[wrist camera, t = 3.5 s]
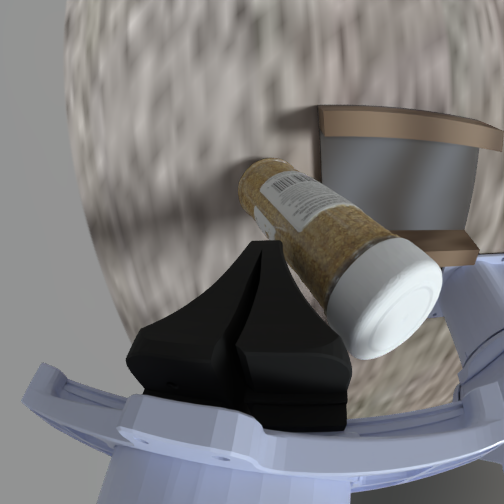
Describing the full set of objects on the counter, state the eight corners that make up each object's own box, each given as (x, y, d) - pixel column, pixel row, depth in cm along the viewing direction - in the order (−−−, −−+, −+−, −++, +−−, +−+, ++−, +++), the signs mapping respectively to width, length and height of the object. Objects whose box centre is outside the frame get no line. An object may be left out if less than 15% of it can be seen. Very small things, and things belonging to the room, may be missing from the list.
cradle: (477, 119, 14) (503, 131, 11) (457, 240, 20) (474, 264, 17) (317, 104, 16) (323, 110, 13) (321, 243, 22) (325, 271, 20)
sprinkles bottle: (232, 216, 20) (333, 377, 9) (241, 152, 17) (389, 271, 7) (290, 217, 21) (412, 348, 10) (303, 159, 19) (462, 261, 8)
